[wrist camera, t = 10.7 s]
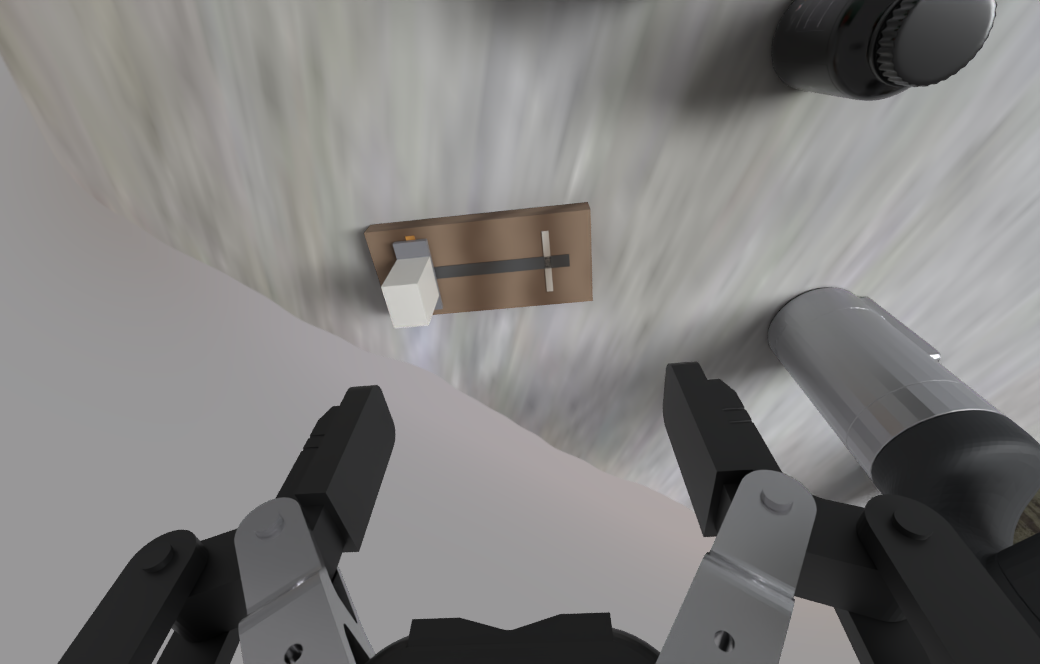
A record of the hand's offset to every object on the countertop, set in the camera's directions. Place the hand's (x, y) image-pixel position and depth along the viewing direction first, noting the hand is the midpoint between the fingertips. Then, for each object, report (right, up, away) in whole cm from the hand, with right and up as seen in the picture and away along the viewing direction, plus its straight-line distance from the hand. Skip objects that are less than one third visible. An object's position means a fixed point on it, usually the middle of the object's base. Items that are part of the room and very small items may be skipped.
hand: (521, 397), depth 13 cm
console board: (-3, +9, +30) cm, 32 cm away
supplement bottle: (+22, +24, +20) cm, 38 cm away
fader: (-9, +7, +29) cm, 31 cm away
